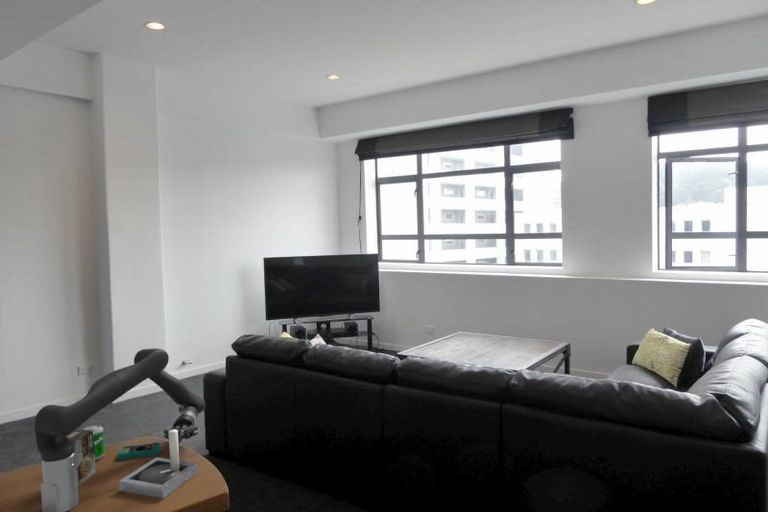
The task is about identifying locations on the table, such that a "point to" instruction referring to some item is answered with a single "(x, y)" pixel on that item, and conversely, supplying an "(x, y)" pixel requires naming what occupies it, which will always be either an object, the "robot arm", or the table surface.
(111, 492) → the table surface
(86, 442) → the coffee box
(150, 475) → the lever
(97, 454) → the soda can
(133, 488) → the grey square frame
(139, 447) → the digital multimeter
